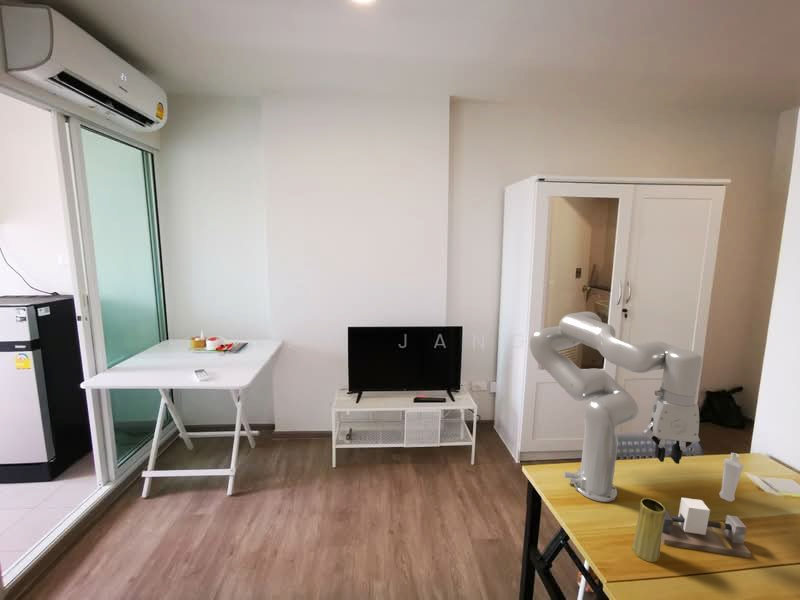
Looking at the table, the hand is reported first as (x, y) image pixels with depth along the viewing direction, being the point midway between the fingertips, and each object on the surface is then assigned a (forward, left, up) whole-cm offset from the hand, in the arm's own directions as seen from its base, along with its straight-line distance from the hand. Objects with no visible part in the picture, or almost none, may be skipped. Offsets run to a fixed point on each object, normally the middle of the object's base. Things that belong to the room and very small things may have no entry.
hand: (667, 459), depth 104 cm
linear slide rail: (+10, 0, -22) cm, 24 cm away
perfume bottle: (+28, +20, -22) cm, 41 cm away
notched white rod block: (+8, 0, -20) cm, 21 cm away
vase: (-6, -9, -22) cm, 25 cm away
